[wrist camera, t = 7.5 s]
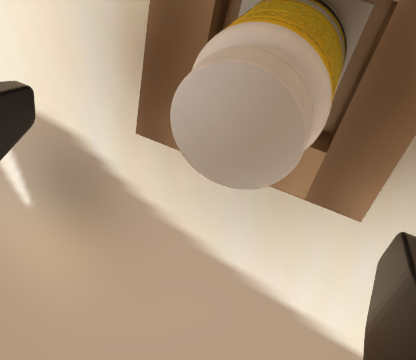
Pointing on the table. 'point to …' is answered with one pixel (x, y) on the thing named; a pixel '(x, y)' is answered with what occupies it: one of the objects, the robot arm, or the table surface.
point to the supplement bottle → (260, 92)
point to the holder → (341, 106)
